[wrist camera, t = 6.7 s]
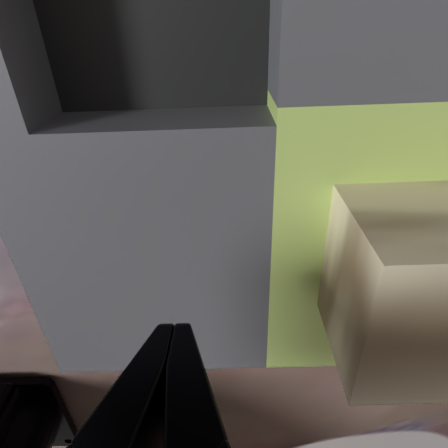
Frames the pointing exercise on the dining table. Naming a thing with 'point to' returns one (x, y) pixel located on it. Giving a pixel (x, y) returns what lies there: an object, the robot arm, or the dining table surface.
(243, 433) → the dining table surface
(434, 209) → the maple block
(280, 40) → the trap deck
